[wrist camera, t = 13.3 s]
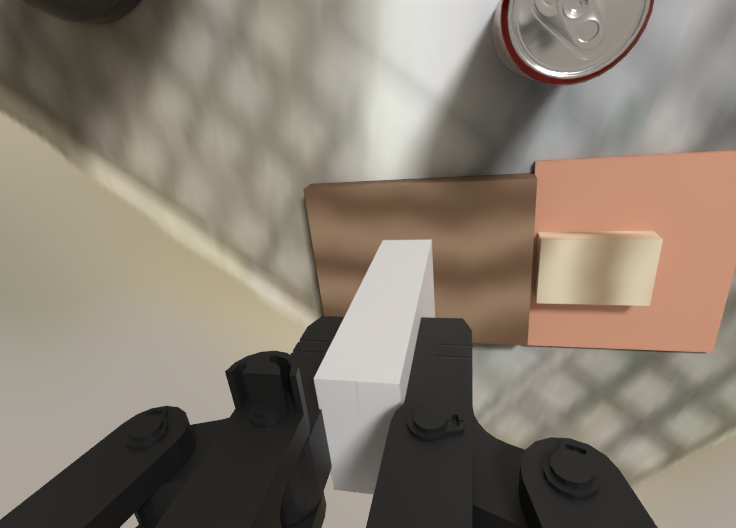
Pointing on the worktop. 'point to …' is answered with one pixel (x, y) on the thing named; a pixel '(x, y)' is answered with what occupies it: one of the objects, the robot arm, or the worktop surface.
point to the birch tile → (596, 267)
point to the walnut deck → (434, 244)
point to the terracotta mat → (644, 213)
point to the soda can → (567, 36)
